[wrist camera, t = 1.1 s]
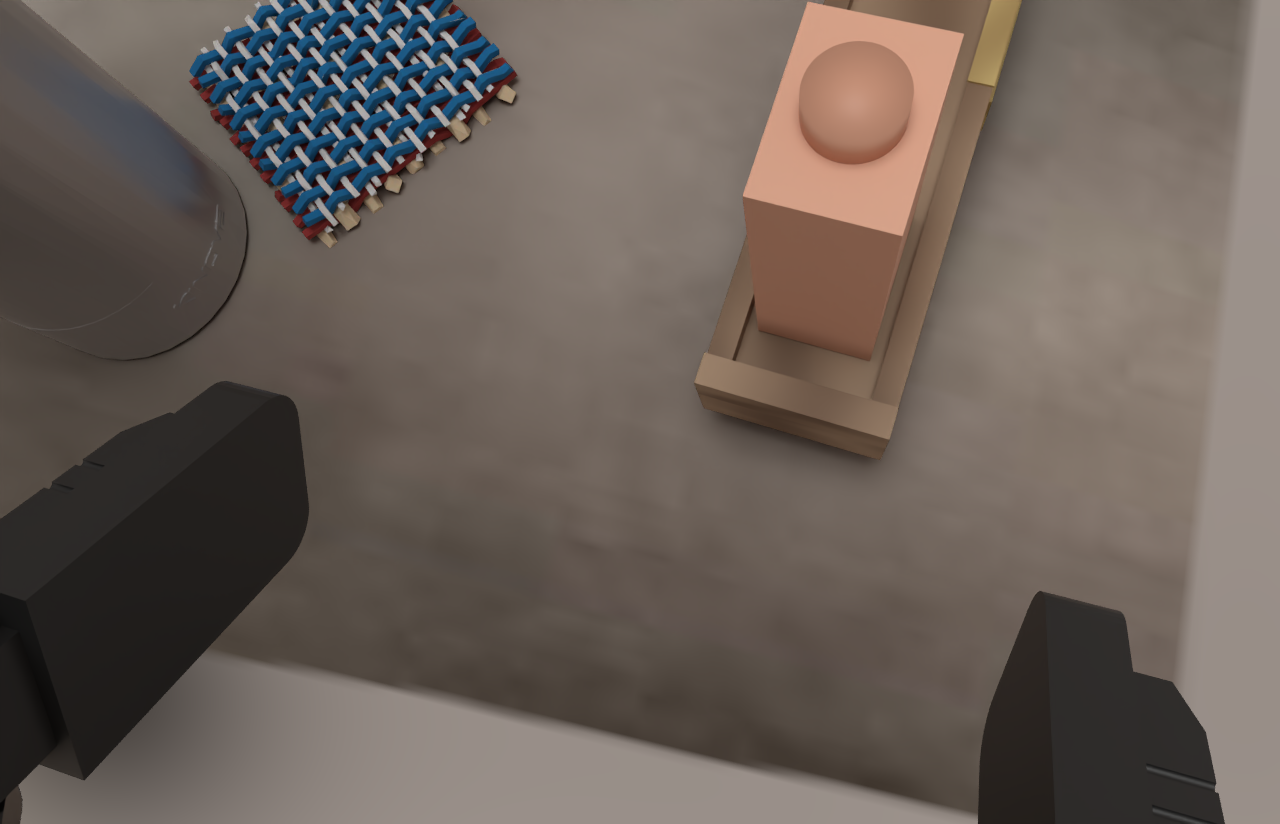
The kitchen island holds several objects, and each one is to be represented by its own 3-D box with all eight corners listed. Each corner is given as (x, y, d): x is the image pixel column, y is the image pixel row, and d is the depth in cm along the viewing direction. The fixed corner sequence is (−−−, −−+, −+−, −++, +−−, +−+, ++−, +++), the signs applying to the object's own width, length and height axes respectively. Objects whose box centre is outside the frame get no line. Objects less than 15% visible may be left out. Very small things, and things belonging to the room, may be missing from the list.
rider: (758, 330, 32) (740, 176, 22) (804, 188, 33) (808, -26, 23) (869, 361, 32) (907, 217, 21) (913, 215, 32) (972, 6, 22)
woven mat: (194, 89, 43) (165, 62, 41) (391, -66, 43) (372, -100, 41) (325, 264, 40) (301, 245, 38) (535, 98, 41) (521, 70, 39)
